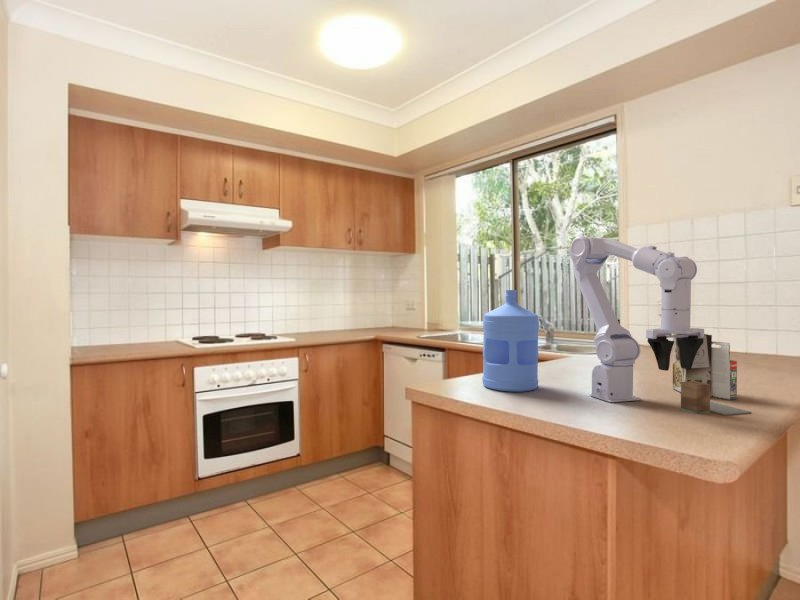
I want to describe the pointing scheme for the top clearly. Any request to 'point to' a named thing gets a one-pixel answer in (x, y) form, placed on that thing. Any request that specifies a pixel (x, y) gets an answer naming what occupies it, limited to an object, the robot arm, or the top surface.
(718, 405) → the rubber mat
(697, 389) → the walnut block
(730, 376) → the ink box
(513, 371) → the water jug
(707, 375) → the coffee box
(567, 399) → the top surface
